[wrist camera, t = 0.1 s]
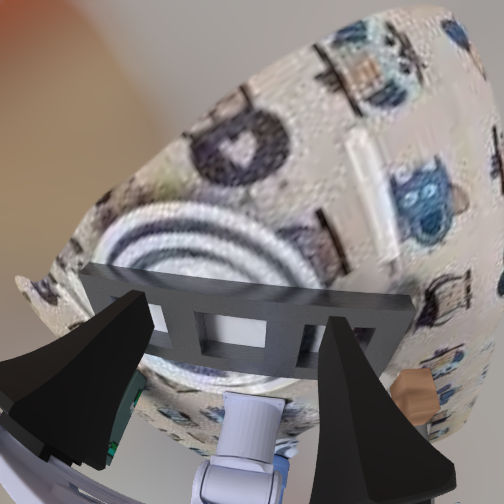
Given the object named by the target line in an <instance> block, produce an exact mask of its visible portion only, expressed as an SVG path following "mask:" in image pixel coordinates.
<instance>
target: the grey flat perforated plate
mask: <svg viewBox="0 0 504 504" xmlns="http://www.w3.org/2000/svg"><path fill="white" fill-rule="evenodd" d="M78 274H79V276H80V279H81V282H82V284H83V287H84V289H85V292H86V294H87V297H88V299H89V302H90V304H91V306H92V309H93V311H94V313H95V315H96V314H98V313H99V312H101V311H102V310H103V309H105V308H106V307H108V306H109V305H110V304H112V303H113V302H115V301H116V300H117V299H119V298H120V297H122V296H123V295H125V294H126V293H128V292H129V291H131V290H138V291H143V292H145V295H146V299H147V302H148V303H149V304H154V305H160V306H161V308H162V312H163V315H164V319H165V323H166V326H167V330H168V333H165V332H160V331H156V330H153V333H152V336H151V339H150V341H149V344H148V347H147V349H146V351H145V353H146V354H149V355H153V356H157V357H162V358H166V359H170V360H174V361H179V362H184V363H188V364H193V365H198V366H204V367H209V368H215V369H221V370H227V371H233V372H240V373H248V374H255V375H264V376H273V377H283V378H295V379H310V380H318V376H317V373H318V353H314V352H300V351H299V349H300V345H301V340H302V336H303V331H304V326H305V324H310V325H324V326H326V325H327V322H328V318H329V316H340V317H346V319H347V320H348V322H349V325H350V327H361V328H366V329H365V331H364V333H363V336H362V338H361V341H360V343H359V345H360V347H361V349H362V351H363V352H364V354H365V356H366V358H367V360H368V361H369V363H370V365H371V367H372V369H373V370H374V372H375V374H376V375H377V377H378V378H379V377H380V376H381V374H382V372H383V371H384V369H385V368H386V366H387V364H388V363H389V361H390V359H391V357H392V356H393V354H394V352H395V351H396V349H397V347H398V345H399V343H400V342H401V340H402V338H403V336H404V334H405V332H406V330H407V328H408V326H409V324H410V322H411V320H412V318H413V316H414V314H415V312H416V310H415V307H414V305H413V303H412V300H411V298H410V296H409V295H393V294H375V293H360V292H346V291H332V290H320V289H308V288H296V287H285V286H274V285H264V284H254V283H244V282H235V281H226V280H217V279H208V278H200V277H191V276H183V275H175V274H167V273H160V272H152V271H145V270H138V269H131V268H124V267H117V266H110V265H104V264H97V263H91V262H89V263H88V264H87V265H86V266H85V267H84V268H83V269H82V270H81V271H80V272H79V273H78ZM203 313H210V314H217V315H224V316H232V317H240V318H248V319H257V320H266V321H267V325H266V339H265V348H258V347H250V346H242V345H235V344H228V343H221V342H215V341H208V340H207V336H206V330H205V323H204V317H203Z"/></svg>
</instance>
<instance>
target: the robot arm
mask: <svg viewBox="0 0 504 504" xmlns="http://www.w3.org/2000/svg"><path fill="white" fill-rule="evenodd" d="M154 327H155V326H154V323H153V320H152V316H151V313H150V310H149V306H148V302H147V299H146V295H145V292H143V291H138V290H131V291H129V292H128V293H126V294H125V295H123V296H122V297H120V298H119V299H117V300H116V301H115V302H113V303H112V304H110V305H109V306H108V307H106V308H105V309H103V310H102V311H101V312H99V313H98V314H96V315H95V316H94V317H92V318H91V319H89V320H88V321H86V322H85V323H83V324H82V325H80V326H79V327H77V328H76V329H74V330H73V331H71V332H69V333H68V334H66V335H64V336H63V337H61V338H59V339H57V340H56V341H54V342H52V343H50V344H48V345H45V346H43V347H41V348H39V349H37V350H35V351H32V352H30V353H27V354H25V355H22V356H19V357H16V358H13V359H9V360H5V361H1V362H0V408H1V409H2V410H3V412H2V414H1V413H0V483H1V484H2V486H3V487H4V488H5V490H6V491H7V492H8V494H9V495H10V496H11V498H12V499H13V500H14V501H15V503H16V504H105V503H107V504H144V503H142V502H139V501H137V500H134V499H132V498H129V497H127V496H125V495H123V494H120V493H118V492H116V491H114V490H112V489H110V488H108V487H106V486H104V485H101V484H100V483H98V482H96V481H94V480H92V479H90V478H89V477H87V476H85V475H83V474H82V473H80V472H78V471H77V470H75V469H73V468H72V467H71V465H72V463H75V464H77V465H78V466H81V464H82V462H83V463H85V464H87V465H89V466H91V467H92V468H94V469H96V470H98V471H99V470H103V469H105V466H106V459H107V452H108V446H109V441H110V437H111V432H112V428H113V425H114V421H115V418H116V414H117V411H118V408H119V405H120V403H121V400H122V397H123V394H124V392H125V390H126V388H127V386H128V384H129V382H130V380H131V378H132V376H133V374H134V372H135V370H136V368H137V366H138V364H139V362H140V360H141V359H142V357H143V355H144V353H145V351H146V349H147V347H148V344H149V341H150V339H151V336H152V333H153V330H154ZM317 376H318V395H319V417H320V434H319V444H318V454H317V462H316V469H315V476H314V482H313V488H312V493H311V498H310V503H309V504H431V499H432V498H435V497H437V496H440V495H443V494H445V493H447V492H450V491H452V490H454V489H455V488H456V486H457V485H456V473H455V467H454V464H453V463H452V462H451V461H450V460H449V459H447V458H446V457H445V456H444V455H443V454H441V453H440V452H439V451H438V450H436V449H435V448H434V447H433V446H432V445H431V444H430V443H429V442H428V441H427V440H426V439H425V438H424V437H423V436H422V435H421V434H420V433H419V431H418V430H417V429H416V428H415V427H414V426H413V425H412V424H411V422H410V421H409V420H408V419H407V418H406V417H405V415H404V414H403V413H402V412H401V410H400V409H399V408H398V406H397V405H396V404H395V402H394V401H393V400H392V398H391V397H390V395H389V394H388V392H387V391H386V390H385V388H384V387H383V385H382V383H381V382H380V380H379V378H378V377H377V375H376V374H375V372H374V370H373V369H372V367H371V365H370V363H369V361H368V360H367V358H366V356H365V354H364V352H363V351H362V349H361V347H360V345H359V343H358V341H357V339H356V337H355V335H354V333H353V331H352V329H351V327H350V325H349V322H348V320H347V319H346V317H340V316H329V318H328V322H327V325H326V328H325V332H324V335H323V338H322V341H321V345H320V348H319V353H318V373H317ZM223 400H224V406H225V412H226V413H225V417H224V421H223V425H222V429H221V433H220V437H219V441H218V445H217V449H216V453H215V456H211V460H205V461H204V462H202V463H201V464H200V465H199V467H198V469H197V472H196V474H195V478H194V482H193V488H192V499H191V503H190V504H208V503H209V504H279V500H280V495H281V488H282V475H281V474H280V473H279V471H278V470H274V471H273V469H274V465H273V458H274V451H275V444H276V436H277V428H278V427H279V424H280V420H281V417H282V413H283V409H284V405H285V400H284V399H277V398H268V397H259V396H251V395H244V394H237V393H231V392H223ZM78 488H80V489H81V490H83V491H85V492H87V493H88V494H90V495H92V496H94V497H96V498H97V499H99V500H101V501H103V502H105V503H103V502H101V501H99V500H97V499H95V498H92V497H90V496H88V495H85V494H83V493H81V492H79V490H78ZM454 504H460V502H457V503H454Z"/></svg>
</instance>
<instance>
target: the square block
mask: <svg viewBox="0 0 504 504" xmlns="http://www.w3.org/2000/svg"><path fill="white" fill-rule="evenodd" d="M390 391H391V397H392V400H393V401H394V402H395V404H396V405H397V406H398V408H399V409H400V410H401V412H402V413H403V414H404V415H405V417H406V418H407V419H408V420H409V421H410V422H411V424H412V425H413V426H417V425H423V424H425V423H426V422H427V421H428V420H429V419H430V418H432V417H433V416H434V415H435V414H436V413H437V412H438V411H439V410H440V409H441V408H440V404H439V400H438V396H437V392H436V388H435V384H434V381H433V377H432V374H431V370H430V368H422V369H406V370H402V371H401V373H400V374H399V376H398V377H397V379H396V380H395V381H394V383H393V384H392V386H391V387H390Z"/></svg>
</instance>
